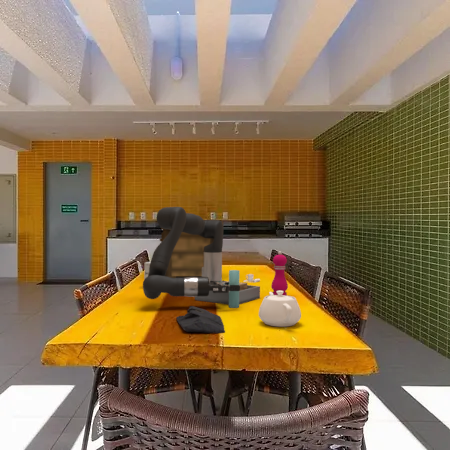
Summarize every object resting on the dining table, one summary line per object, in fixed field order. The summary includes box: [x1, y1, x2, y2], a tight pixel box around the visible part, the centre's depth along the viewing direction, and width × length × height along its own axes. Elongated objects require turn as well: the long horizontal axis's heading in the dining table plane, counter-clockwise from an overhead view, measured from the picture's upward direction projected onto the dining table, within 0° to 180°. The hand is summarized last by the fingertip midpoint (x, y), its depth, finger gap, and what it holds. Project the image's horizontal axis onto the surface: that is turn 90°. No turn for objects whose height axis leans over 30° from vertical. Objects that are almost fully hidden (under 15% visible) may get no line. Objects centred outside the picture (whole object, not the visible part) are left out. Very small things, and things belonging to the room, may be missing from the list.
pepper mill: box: [270, 250, 289, 296], centre depth 195 cm, size 7×7×20 cm
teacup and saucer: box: [243, 273, 261, 283], centre depth 242 cm, size 9×8×4 cm
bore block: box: [225, 280, 248, 291], centre depth 187 cm, size 12×12×6 cm
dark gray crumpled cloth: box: [175, 305, 226, 334], centre depth 141 cm, size 15×22×5 cm
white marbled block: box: [143, 261, 151, 280], centre depth 215 cm, size 7×7×13 cm
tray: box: [194, 284, 261, 305], centre depth 187 cm, size 20×20×5 cm
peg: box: [228, 269, 240, 309], centre depth 171 cm, size 4×4×14 cm
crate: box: [159, 220, 224, 278], centre depth 257 cm, size 35×35×33 cm
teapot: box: [258, 291, 302, 328], centre depth 145 cm, size 22×14×11 cm, turn 10°
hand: (238, 286), depth 171 cm, fingers open, 8 cm apart
